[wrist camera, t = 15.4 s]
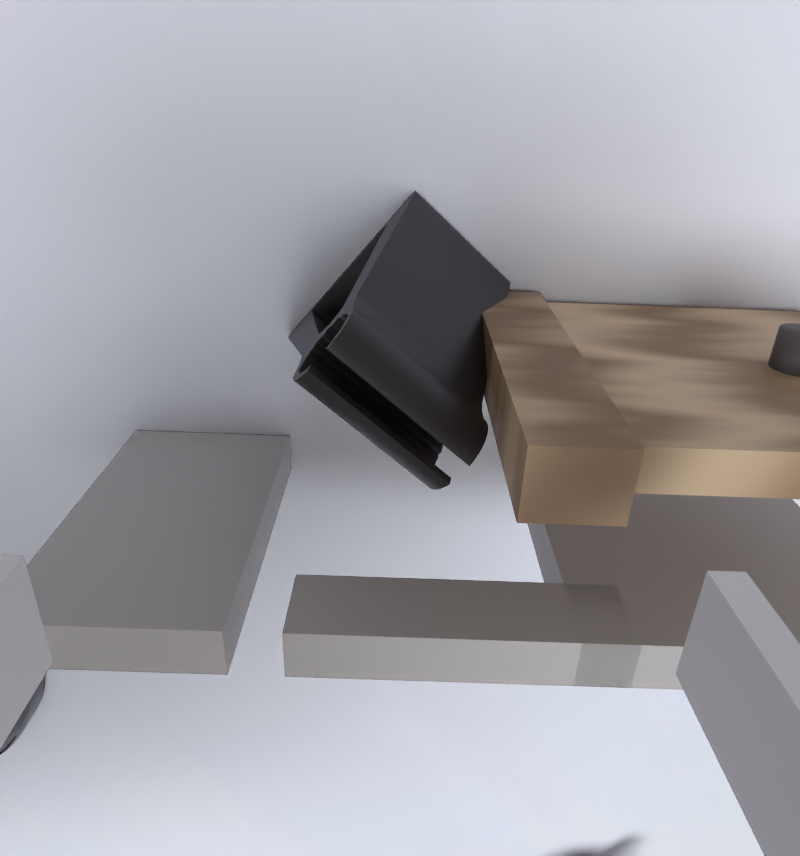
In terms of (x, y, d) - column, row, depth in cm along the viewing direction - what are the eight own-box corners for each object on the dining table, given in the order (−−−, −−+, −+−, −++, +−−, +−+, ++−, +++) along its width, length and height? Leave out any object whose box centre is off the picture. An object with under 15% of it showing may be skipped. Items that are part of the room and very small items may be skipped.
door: (470, 339, 31) (517, 522, 18) (476, 269, 30) (532, 412, 16) (793, 351, 31) (1081, 542, 18) (816, 281, 30) (1148, 433, 16)
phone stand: (415, 189, 29) (421, 245, 18) (509, 281, 31) (564, 382, 20) (288, 333, 32) (228, 455, 21) (380, 409, 34) (368, 557, 23)
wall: (141, 463, 35) (-5, 667, 23) (135, 430, 34) (-20, 623, 22) (736, 484, 35) (916, 697, 23) (747, 451, 34) (940, 655, 22)
